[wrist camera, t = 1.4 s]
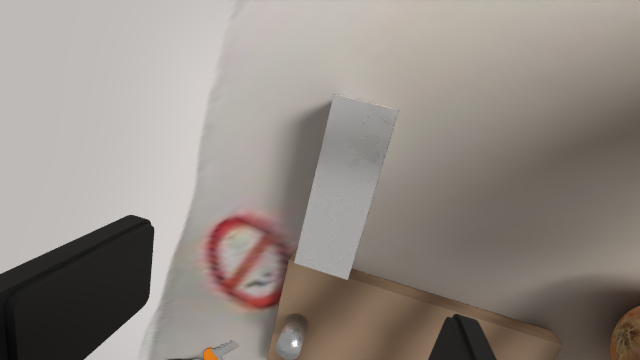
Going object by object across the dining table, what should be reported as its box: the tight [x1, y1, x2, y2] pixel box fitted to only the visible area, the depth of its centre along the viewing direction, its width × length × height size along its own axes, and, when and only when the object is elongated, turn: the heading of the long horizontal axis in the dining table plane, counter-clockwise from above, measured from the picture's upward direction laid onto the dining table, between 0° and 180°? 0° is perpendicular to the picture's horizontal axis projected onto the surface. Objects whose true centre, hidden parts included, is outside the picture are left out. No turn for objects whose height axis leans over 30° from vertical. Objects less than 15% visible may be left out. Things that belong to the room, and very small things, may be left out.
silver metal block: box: [294, 94, 399, 280], centre depth 22 cm, size 4×12×5 cm, turn 167°
